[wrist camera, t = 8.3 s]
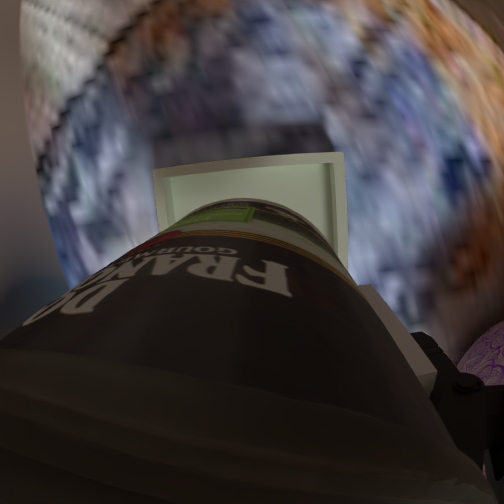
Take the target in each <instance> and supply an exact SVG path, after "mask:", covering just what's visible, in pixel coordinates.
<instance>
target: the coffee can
mask: <svg viewBox="0 0 504 504" xmlns="http://www.w3.org/2000/svg"><path fill="white" fill-rule="evenodd" d="M0 504H498V501H497V499H496V497H495V494H494V492H493V490H492V487H491V485H490V484H489V482H488V480H487V479H486V477H485V476H484V474H483V473H482V471H481V470H480V468H479V467H478V466H477V464H476V463H475V462H474V460H472V459H471V458H470V457H468V456H467V455H466V454H464V453H463V452H461V451H460V450H458V449H457V447H456V445H455V443H454V441H453V439H452V437H451V436H450V434H449V432H448V430H447V428H446V426H445V425H444V423H443V421H442V419H441V418H440V416H439V414H438V412H437V411H436V409H435V407H434V405H433V403H432V402H431V400H430V398H429V396H428V395H427V393H426V391H425V390H424V388H423V386H422V385H421V383H420V381H419V380H418V378H417V377H416V374H415V373H414V371H413V370H412V368H411V367H410V365H409V363H408V362H407V360H406V358H405V356H404V355H403V353H402V352H401V350H400V349H399V347H398V346H397V344H396V342H395V341H394V339H393V338H392V336H391V335H390V333H389V332H388V330H387V328H386V327H385V325H384V324H383V322H382V321H381V319H380V318H379V316H378V315H377V314H376V312H375V311H374V309H373V308H372V307H371V305H370V303H369V302H368V300H367V299H366V297H365V296H364V294H363V293H362V291H361V290H360V288H359V287H358V286H357V284H356V283H355V281H354V280H353V278H352V277H351V275H350V274H349V272H348V271H347V270H346V268H345V267H344V265H343V264H342V262H341V261H340V260H339V258H338V256H337V255H336V254H335V252H334V250H333V248H332V246H331V245H330V243H329V242H328V240H327V239H326V238H325V236H324V235H323V234H322V233H321V232H320V231H319V229H318V228H317V227H316V226H314V225H313V224H312V223H311V222H310V221H309V220H307V219H306V218H305V217H303V216H302V215H300V214H299V213H297V212H295V211H293V210H291V209H290V208H288V207H286V206H284V205H281V204H278V203H275V202H271V201H267V200H262V199H255V198H231V199H225V200H220V201H216V202H213V203H209V204H206V205H203V206H201V207H199V208H197V209H195V210H193V211H192V212H190V213H188V214H187V215H186V216H184V217H183V218H182V219H180V220H179V221H178V222H176V223H175V224H173V225H172V226H170V227H168V228H167V229H165V230H164V231H162V232H160V233H159V234H157V235H155V236H154V237H152V238H151V239H149V240H147V241H146V242H144V243H142V244H141V245H139V246H137V247H135V248H134V249H132V250H130V251H129V252H127V253H126V254H124V255H123V256H121V257H120V258H118V259H117V260H115V261H113V262H112V263H110V264H109V265H107V266H106V267H104V268H103V269H101V270H100V271H98V272H96V273H95V274H93V275H92V276H90V277H88V278H87V279H85V280H84V281H82V282H81V283H79V284H78V285H76V286H75V287H74V288H72V289H71V290H70V291H68V292H67V293H66V294H64V295H63V296H61V297H60V298H58V299H57V300H55V301H53V302H51V303H50V304H48V305H47V306H46V307H44V308H43V309H41V310H40V311H38V312H37V313H36V314H34V315H33V316H32V317H31V318H29V319H28V320H27V321H26V322H25V323H23V324H22V325H20V326H19V327H18V328H16V329H15V330H13V331H12V332H11V333H9V334H8V335H7V336H5V337H4V338H3V339H1V340H0Z"/></svg>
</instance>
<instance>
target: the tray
mask: <svg viewBox="0 0 504 504" xmlns="http://www.w3.org/2000/svg"><path fill="white" fill-rule="evenodd" d="M152 174H153V183H154V192H155V200H156V208H157V216H158V223H159V231H160V232H162V231H164V230H165V229H167V228H168V227H170V226H172V225H173V224H175V223H176V222H178V221H179V220H180V219H182V218H183V217H184V216H186V215H187V214H188V213H190V212H192V211H193V210H195V209H197V208H199V207H201V206H203V205H206V204H209V203H213V202H216V201H220V200H225V199H231V198H255V199H262V200H267V201H271V202H275V203H278V204H281V205H284V206H286V207H288V208H290V209H291V210H293V211H295V212H297V213H299V214H300V215H302V216H303V217H305V218H306V219H307V220H309V221H310V222H311V223H312V224H313V225H314V226H316V227H317V228H318V229H319V231H320V232H321V233H322V234H323V235H324V236H325V238H326V239H327V240H328V242H329V243H330V245H331V246H332V248H333V250H334V252H335V254H336V255H337V256H338V258H339V260H340V261H341V262H342V264H343V265H344V267H345V268H346V270H347V271H348V230H347V203H346V184H345V168H344V155H343V152H323V153H303V154H286V155H272V156H260V157H249V158H238V159H228V160H219V161H211V162H202V163H194V164H187V165H179V166H172V167H166V168H159V169H153V170H152Z"/></svg>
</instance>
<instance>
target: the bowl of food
mask: <svg viewBox="0 0 504 504" xmlns="http://www.w3.org/2000/svg"><path fill="white" fill-rule="evenodd" d="M456 368H457V369H458V370H459V371H460V372H466V373H470V374H474V375H476V376H478V377H479V378H480V379H481V380H482V381H483V382H484V384H485V385H504V320H503V321H501V322H499V323H497V324H496V325H494V326H492V327H491V328H489V329H488V330H487V331H486V332H485V333H484V334H483V335H481V336H480V337H479V338H478V339H477V340H476V341H475V342H474V343H473V345H472V346H471V347H470V348H469V350H468V351H467V352H466V353H465V354H464V355H463V357H462V359H461V360H460V362H459V364H458V366H457V367H456ZM483 474H484V476H485V477H486V472H485V467H484V464H483ZM486 479H487V478H486Z"/></svg>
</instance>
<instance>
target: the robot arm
mask: <svg viewBox="0 0 504 504" xmlns="http://www.w3.org/2000/svg"><path fill="white" fill-rule="evenodd" d="M357 286H358V287H359V288H360V290H361V291H362V293H363V294H364V296H365V297H366V299H367V300H368V302H369V303H370V305H371V307H372V308H373V309H374V311H375V312H376V314H377V315H378V316H379V318H380V319H381V321H382V322H383V324H384V325H385V327H386V328H387V330H388V332H389V333H390V335H391V336H392V338H393V339H394V341H395V342H396V344H397V346H398V347H399V349H400V350H401V352H402V353H403V355H404V356H405V358H406V360H407V362H408V363H409V365H410V367H411V368H412V370H413V371H414V373H415V374H416V377H417V378H418V380H419V381H420V383H421V385H422V386H423V388H424V390H425V391H426V393H427V395H428V396H429V398H430V400H431V402H432V403H433V405H434V407H435V409H436V411H437V412H438V414H439V416H440V418H441V419H442V421H443V423H444V425H445V426H446V428H447V430H448V432H449V434H450V436H451V437H452V439H453V441H454V443H455V445H456V447H457V449H458V450H460V451H461V452H463V453H464V454H466V455H467V456H468V457H470V458H471V459H472V460H474V462H475V463H476V464H477V466H478V467H479V468H480V470H481V471H482V473H483V464H484V467H485V472H486V478H487V480H488V482H489V484H490V485H491V487H492V490H493V492H494V494H495V497H496V499H497V501H498V504H504V385H485V384H484V382H483V381H482V380H481V379H480V378H479V377H478V376H476V375H474V374H470V373H466V372H460V371H459V370H458V369H457V368H456V366H455V365H454V364H453V363H452V361H451V360H450V359H449V358H448V356H447V355H446V354H445V353H443V350H442V349H441V348H440V347H438V344H437V343H436V342H435V341H434V339H433V338H432V337H430V336H428V335H427V334H425V333H423V332H415V333H409V332H408V330H407V329H406V328H405V326H404V325H403V324H402V323H401V321H400V320H399V319H398V317H397V316H396V315H395V313H394V312H393V311H392V310H391V308H390V307H389V306H388V305H387V303H386V302H385V301H384V299H383V298H382V297H381V296H380V294H379V293H378V292H377V291H376V289H375V288H374V287H373V286H372V285H371V284H368V285H357Z"/></svg>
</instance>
